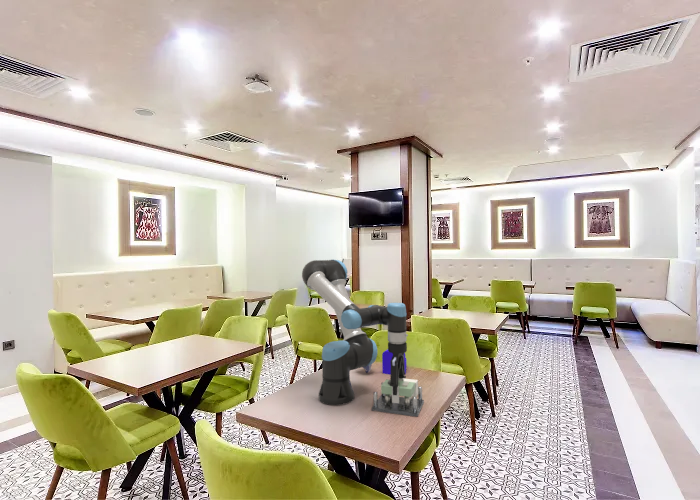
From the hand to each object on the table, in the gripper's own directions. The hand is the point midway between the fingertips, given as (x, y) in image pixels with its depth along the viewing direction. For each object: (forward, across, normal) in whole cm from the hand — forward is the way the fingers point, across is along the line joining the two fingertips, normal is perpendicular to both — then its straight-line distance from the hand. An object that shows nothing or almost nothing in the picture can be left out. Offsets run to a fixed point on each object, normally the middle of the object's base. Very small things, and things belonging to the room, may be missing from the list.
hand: (398, 398), depth 149 cm
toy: (+3, +36, +25) cm, 44 cm away
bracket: (+4, +46, +11) cm, 47 cm away
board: (-3, 0, 0) cm, 3 cm away
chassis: (+3, 0, 0) cm, 3 cm away
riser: (+3, +14, -1) cm, 14 cm away
